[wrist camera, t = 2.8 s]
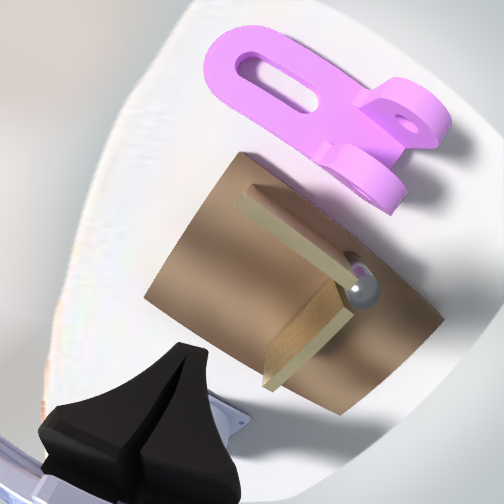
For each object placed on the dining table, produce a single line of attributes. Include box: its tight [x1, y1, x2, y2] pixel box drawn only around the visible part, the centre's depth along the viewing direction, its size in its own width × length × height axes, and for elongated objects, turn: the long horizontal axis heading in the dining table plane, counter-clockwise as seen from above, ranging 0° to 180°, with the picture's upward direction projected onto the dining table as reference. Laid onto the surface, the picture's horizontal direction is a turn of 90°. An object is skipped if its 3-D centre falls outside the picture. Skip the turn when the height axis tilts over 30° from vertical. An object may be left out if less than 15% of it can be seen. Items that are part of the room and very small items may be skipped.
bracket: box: [203, 25, 452, 216], centre depth 14 cm, size 13×6×7 cm, turn 56°
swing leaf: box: [262, 278, 354, 392], centre depth 18 cm, size 1×7×4 cm, turn 145°
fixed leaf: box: [234, 184, 381, 309], centre depth 16 cm, size 2×9×4 cm, turn 54°
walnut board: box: [144, 152, 445, 415], centre depth 21 cm, size 12×19×1 cm, turn 54°
